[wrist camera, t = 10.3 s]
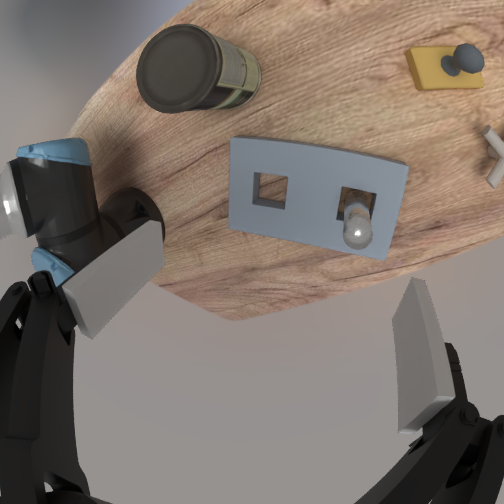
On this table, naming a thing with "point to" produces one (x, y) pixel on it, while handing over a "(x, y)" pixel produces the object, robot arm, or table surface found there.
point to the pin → (357, 221)
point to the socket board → (312, 192)
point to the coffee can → (195, 71)
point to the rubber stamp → (446, 67)
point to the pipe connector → (494, 155)
